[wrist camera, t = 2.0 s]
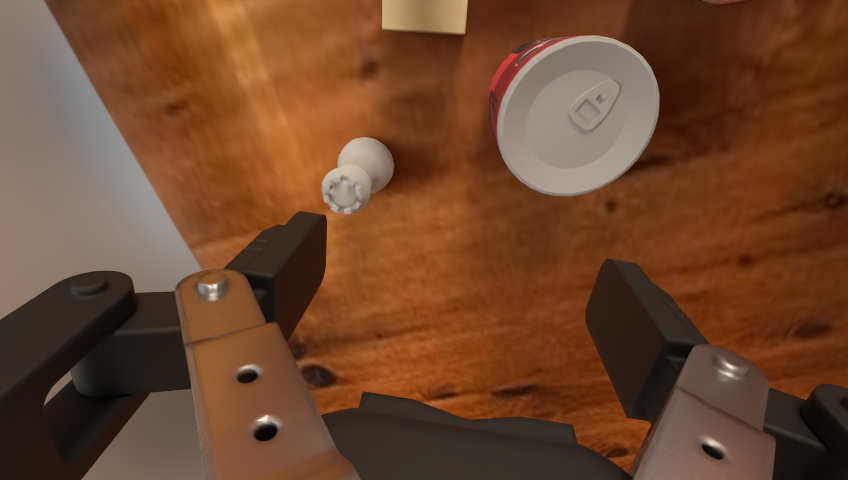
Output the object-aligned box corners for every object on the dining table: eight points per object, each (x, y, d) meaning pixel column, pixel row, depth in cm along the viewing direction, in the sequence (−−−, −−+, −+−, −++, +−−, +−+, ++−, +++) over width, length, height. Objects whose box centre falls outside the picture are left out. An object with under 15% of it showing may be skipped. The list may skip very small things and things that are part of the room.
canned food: (617, 65, 29) (697, 77, 19) (557, 166, 32) (598, 220, 23) (519, 16, 28) (551, 3, 18) (468, 125, 32) (471, 163, 22)
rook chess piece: (338, 135, 33) (303, 161, 26) (393, 135, 32) (374, 162, 25) (343, 189, 35) (312, 227, 28) (396, 189, 34) (378, 228, 27)
